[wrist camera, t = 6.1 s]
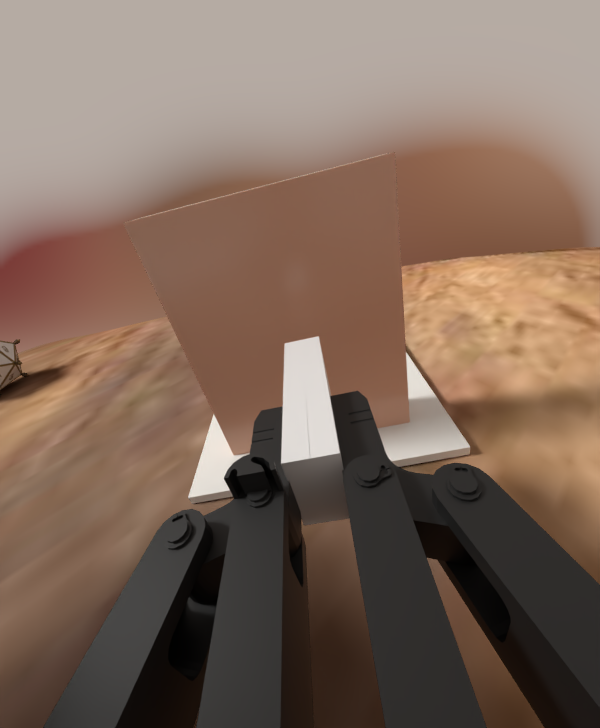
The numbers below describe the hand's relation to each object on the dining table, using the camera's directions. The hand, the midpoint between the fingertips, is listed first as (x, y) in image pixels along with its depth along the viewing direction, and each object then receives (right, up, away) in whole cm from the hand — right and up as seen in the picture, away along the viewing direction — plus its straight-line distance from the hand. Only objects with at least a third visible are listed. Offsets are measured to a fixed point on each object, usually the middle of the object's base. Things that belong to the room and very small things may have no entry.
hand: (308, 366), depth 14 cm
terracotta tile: (+1, -4, +8) cm, 9 cm away
